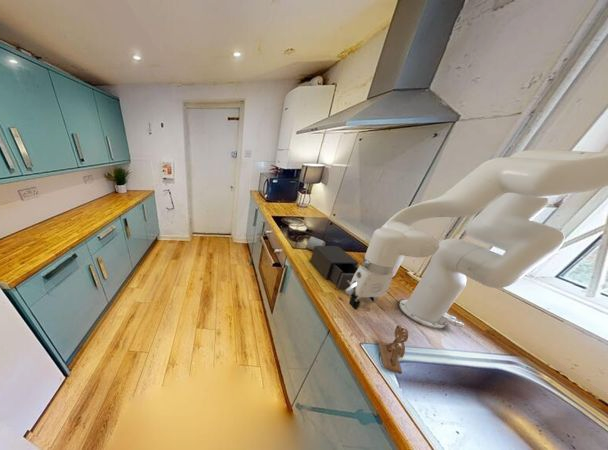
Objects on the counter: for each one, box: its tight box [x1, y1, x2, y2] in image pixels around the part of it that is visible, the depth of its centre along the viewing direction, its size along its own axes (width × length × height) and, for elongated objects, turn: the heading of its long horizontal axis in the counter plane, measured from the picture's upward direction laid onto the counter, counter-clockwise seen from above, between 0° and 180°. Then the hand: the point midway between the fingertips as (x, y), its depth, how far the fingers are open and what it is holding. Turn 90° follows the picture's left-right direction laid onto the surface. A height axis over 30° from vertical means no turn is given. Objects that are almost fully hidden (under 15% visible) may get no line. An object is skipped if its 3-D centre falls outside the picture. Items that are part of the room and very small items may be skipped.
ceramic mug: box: [306, 236, 326, 251], centre depth 116 cm, size 11×8×8 cm
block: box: [355, 294, 375, 313], centre depth 71 cm, size 4×4×4 cm
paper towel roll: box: [392, 255, 406, 277], centre depth 94 cm, size 7×6×21 cm
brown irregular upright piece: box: [377, 324, 409, 375], centre depth 58 cm, size 9×4×12 cm, turn 151°
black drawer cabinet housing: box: [309, 245, 359, 280], centre depth 98 cm, size 15×13×10 cm
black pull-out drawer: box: [329, 264, 359, 290], centre depth 88 cm, size 18×11×8 cm, turn 2°
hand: (359, 306), depth 71 cm, fingers closed on block, 4 cm apart
